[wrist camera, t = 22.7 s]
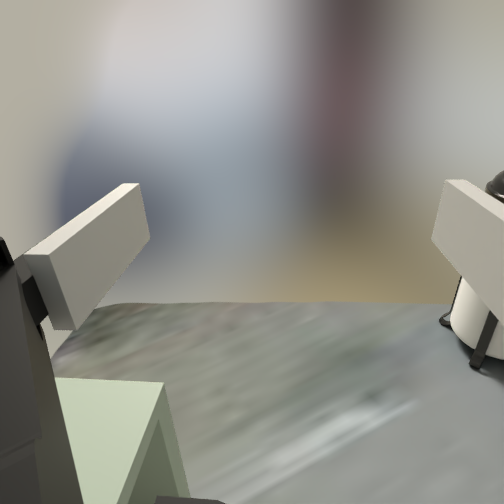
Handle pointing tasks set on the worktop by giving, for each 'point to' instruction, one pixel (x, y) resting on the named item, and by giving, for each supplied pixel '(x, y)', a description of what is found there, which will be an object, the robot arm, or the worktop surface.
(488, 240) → the robot arm
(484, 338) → the coffee press
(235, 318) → the worktop surface
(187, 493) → the awning socket
